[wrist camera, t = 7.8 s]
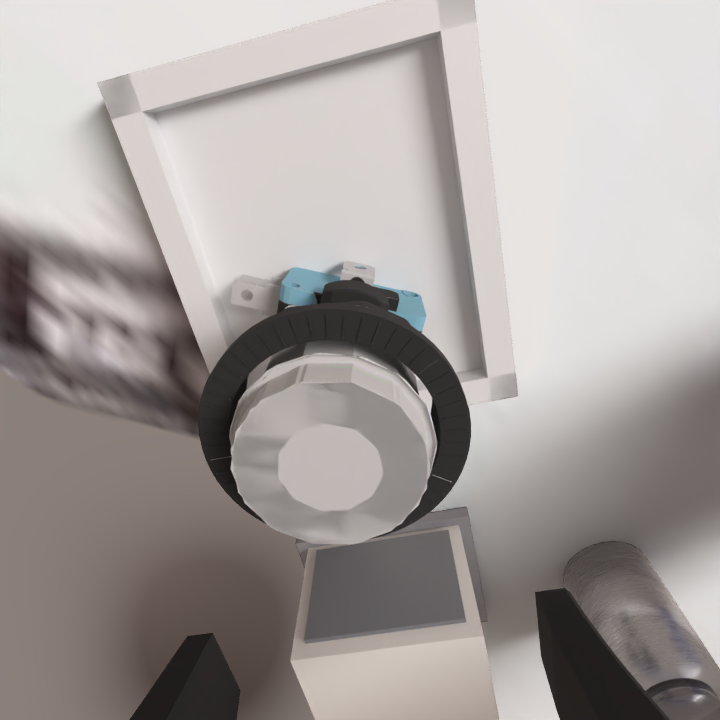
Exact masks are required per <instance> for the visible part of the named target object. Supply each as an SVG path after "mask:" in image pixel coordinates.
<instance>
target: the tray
mask: <svg viewBox="0 0 720 720" xmlns="http://www.w3.org/2000/svg"><path fill="white" fill-rule="evenodd" d="M97 84H98V87H99V89H100V92H101V94H102V97H103V100H104V102H105V105H106V107H107V110H108V112H109V115H110V118H111V120H112V123H113V125H114V128H115V131H116V133H117V136H118V138H119V141H120V143H121V146H122V149H123V151H124V154H125V156H126V159H127V162H128V164H129V167H130V169H131V172H132V174H133V177H134V180H135V182H136V185H137V187H138V190H139V193H140V195H141V198H142V200H143V203H144V205H145V208H146V211H147V213H148V216H149V218H150V221H151V224H152V226H153V229H154V231H155V234H156V236H157V239H158V242H159V244H160V247H161V249H162V252H163V255H164V257H165V260H166V262H167V265H168V267H169V270H170V273H171V275H172V278H173V280H174V283H175V286H176V288H177V291H178V293H179V296H180V298H181V301H182V304H183V306H184V309H185V311H186V314H187V317H188V319H189V322H190V324H191V327H192V329H193V332H194V335H195V337H196V340H197V342H198V345H199V348H200V350H201V353H202V355H203V358H204V360H205V363H206V366H207V368H208V371H209V373H210V374H211V372H212V370H213V369H214V367H215V365H216V364H217V362H218V361H219V359H220V358H221V357H222V355H223V354H224V353H225V352H226V350H227V349H228V348H229V346H230V345H231V344H232V343H233V342H234V341H235V340H236V339H237V338H238V337H239V336H240V335H242V334H243V333H244V332H246V331H247V330H248V329H249V328H251V327H252V326H254V325H255V324H257V323H259V322H260V321H262V320H264V319H266V318H268V317H270V316H267V315H262V311H263V310H259V309H254V308H249V307H245V306H240V305H236V304H233V303H232V302H231V296H232V287H233V283H234V282H236V281H238V282H239V279H240V276H241V275H243V274H244V275H249V276H253V277H258V278H262V279H267V280H271V279H272V277H277V278H281V279H285V277H286V276H287V274H288V273H289V271H290V270H291V268H293V267H298V268H303V269H308V270H312V271H317V272H321V273H326V274H330V275H335V276H339V277H341V273H342V269H343V264H344V261H351V262H356V263H360V264H365V265H369V266H372V267H374V268H375V280H374V284H375V285H379V286H384V287H388V288H393V289H397V290H406V291H410V292H414V293H417V294H419V295H420V296H421V297H422V302H423V305H424V309H425V312H426V315H427V316H426V319H425V323H424V326H423V330H422V334H424V335H425V336H426V337H427V338H428V339H429V340H430V341H431V342H433V343H434V344H435V345H436V346H437V348H438V349H439V350H440V351H441V352H442V353H443V354H444V356H445V357H446V358H447V360H448V361H449V363H450V364H451V365H452V367H453V369H454V371H455V373H456V375H457V376H458V379H459V381H460V384H461V386H462V389H463V391H464V394H465V397H466V400H467V404H468V405H473V404H479V403H484V402H490V401H495V400H501V399H506V398H512V397H517V396H518V390H517V381H516V372H515V363H514V354H513V345H512V336H511V327H510V318H509V309H508V300H507V291H506V282H505V273H504V264H503V255H502V246H501V237H500V228H499V219H498V210H497V201H496V192H495V183H494V174H493V165H492V156H491V147H490V138H489V129H488V120H487V111H486V102H485V93H484V84H483V75H482V66H481V57H480V48H479V39H478V30H477V21H476V12H475V3H474V0H391V1H387V2H383V3H380V4H376V5H373V6H369V7H366V8H362V9H358V10H355V11H351V12H348V13H344V14H341V15H337V16H333V17H330V18H326V19H323V20H319V21H316V22H312V23H309V24H305V25H301V26H298V27H294V28H291V29H287V30H284V31H280V32H276V33H273V34H269V35H266V36H262V37H259V38H255V39H251V40H248V41H244V42H241V43H237V44H234V45H230V46H227V47H223V48H219V49H216V50H212V51H209V52H205V53H202V54H198V55H194V56H191V57H187V58H184V59H180V60H177V61H173V62H169V63H166V64H162V65H159V66H155V67H152V68H148V69H145V70H141V71H137V72H134V73H130V74H127V75H123V76H120V77H116V78H112V79H109V80H105V81H102V82H98V83H97ZM355 268H358V269H363V268H359V267H355ZM249 284H252V285H257V284H256V283H254V282H251V283H249ZM257 286H258V285H257ZM250 292H251V291H250ZM251 293H252V292H251ZM242 298H243V299H244V300H246V301H250V300H252V299H250V298H246V297H242ZM271 357H272V356H270V357H269V358H267V359H266V360H264V361H263V362H262V363H260V364H259V365H258V366H257V367H256V368H255V369H254V370H253V371H252V372H250V374H249V376H248V381H247V389H248V388H249V387H250V386H251V385H253V384H254V383H255V382H256V381H257V380H258V379H259V378H260V377H261V376H262V375H263V374H264V372H265V370H266V368H267V366H268V363H269V361H270V359H271ZM414 375H415V374H414ZM415 376H416V375H415ZM416 382H417V387H418V393H419V396H420V398H421V399H422V400H423V401H424V402H425V404H426V405H427V407H428V409H429V411H430V412H431V407H432V397H431V395H430V393H429V392H428V390H427V388H426V387H425V385H424V384H423V383H422V382H421V380H420V379H419V378H418V377H417V376H416Z"/></svg>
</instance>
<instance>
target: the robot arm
mask: <svg viewBox="0 0 720 720" xmlns="http://www.w3.org/2000/svg"><path fill="white" fill-rule="evenodd" d="M535 596H536V606H537V617H538V628H539V638H540V649H541V657H542V661H543V664H544V668H545V671H546V675H547V678H548V682H549V685H550V689H551V692H552V695H553V699H554V702H555V706H556V709H557V712H558V715H559V718H560V720H670V719H669V718H668V717H667V716H666V714H665V713H664V712H663V711H662V710H661V709H660V708H659V706H658V705H657V704H656V703H655V702H654V701H653V699H652V698H651V697H650V696H649V695H648V693H647V692H646V691H645V690H644V689H643V687H642V686H641V685H640V684H639V683H638V682H637V680H636V679H635V678H634V677H633V676H632V674H631V673H630V672H629V671H628V670H627V668H626V667H625V666H624V665H623V663H622V662H621V661H620V660H619V658H618V657H617V656H616V655H615V653H614V652H613V651H612V649H611V648H610V647H609V646H608V644H607V643H606V642H605V640H604V639H603V638H602V636H601V635H600V634H599V632H598V631H597V630H596V628H595V627H594V626H593V624H592V623H591V622H590V620H589V619H588V617H587V616H586V615H585V613H584V612H583V610H582V609H581V607H580V606H579V604H578V603H577V601H576V600H575V598H574V597H573V595H572V594H571V592H570V591H568V590H567V589H565V588H563V589H555V590H547V591H540V592H535ZM239 695H240V689H239V687H238V685H237V683H236V681H235V679H234V676H233V674H232V672H231V670H230V668H229V666H228V664H227V662H226V660H225V658H224V656H223V654H222V651H221V649H220V647H219V645H218V643H217V641H216V639H215V637H214V635H213V633H209V634H201V635H193V636H188V637H187V638H186V639H185V640H184V642H183V643H182V645H181V646H180V648H179V649H178V650H177V652H176V653H175V655H174V656H173V658H172V659H171V661H170V662H169V663H168V665H167V666H166V668H165V669H164V671H163V672H162V674H161V675H160V677H159V678H158V680H157V681H156V682H155V684H154V685H153V687H152V688H151V690H150V691H149V693H148V694H147V696H146V697H145V698H144V700H143V701H142V703H141V704H140V706H139V707H138V709H137V710H136V711H135V713H134V714H133V716H132V717H131V718H130V720H236V719H237V711H238V703H239Z"/></svg>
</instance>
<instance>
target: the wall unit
mask: <svg viewBox="0 0 720 720" xmlns="http://www.w3.org/2000/svg"><path fill="white" fill-rule="evenodd" d="M296 546H297V548H298V551H299V554H300V557H301V560H302V562H303V565H304V568H305V572H304V578H303V584H302V591H301V597H300V603H299V610H298V616H297V622H296V628H295V634H294V641H293V647H292V654H291V660H290V662H291V664H292V666H293V668H294V671H295V673H296V676H297V678H298V680H299V683H300V685H301V687H302V690H303V692H304V694H305V697H306V699H307V702H308V704H309V706H310V709H311V711H312V713H313V716H314V718H315V720H499V716H498V710H497V705H496V699H495V694H494V689H493V683H492V678H491V672H490V667H489V661H488V656H487V650H486V645H485V639H484V634H483V630H482V625H481V622H487V616H486V611H485V605H484V599H483V594H482V588H481V582H480V577H479V571H478V565H477V559H476V554H475V548H474V542H473V537H472V531H471V525H470V520H469V515H468V511H467V507H463V508H457V509H451V510H445V511H438V512H432V513H428V514H426V515H425V516H424V517H422V518H421V519H419V520H417V521H416V522H414V523H413V524H411V525H409V526H407V527H405V528H403V529H401V530H398V531H396V532H393V533H390V534H387V535H384V536H381V537H377V538H372V539H368V540H366V541H364V542H362V543H356V544H311V543H309V542H306V541H303V540H301V539H298V538H297V539H296Z"/></svg>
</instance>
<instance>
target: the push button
mask: <svg viewBox="0 0 720 720" xmlns="http://www.w3.org/2000/svg"><path fill="white" fill-rule="evenodd" d="M355 267H359V268H363V269H358V268H355ZM374 280H375V268H374V267H372V266H369V265H365V264H360V263H356V262H351V261H344V264H343V269H342V273H341V277H339V276H335V275H330V274H326V273H321V272H317V271H312V270H308V269H303V268H298V267H293V268H291V270H290V271H289V273H288V274H287V276H286V277H285V279H281V278H277V277H272V279H271V280H267V279H262V278H258V277H253V276H249V275H244V274H243V275H241V276H240V279H239V282H238V281H236V282H234V283H233V287H232V296H231V302H232V303H233V304H236V305H240V306H245V307H249V308H254V309H259V310H263V311H262V315H267V316H270V317H268V318H266V319H264V320H262V321H260V322H259V323H257V324H255V325H254V326H252V327H251V328H249V329H248V330H247V331H246V332H244V333H243V334H242V335H240V336H239V337H238V338H237V339H236V340H235V341H234V342H233V343H232V344H231V345H230V346H229V348H228V349H227V350H226V352H225V353H224V354H223V355H222V357H221V358H220V359H219V361H218V362H217V364H216V365H215V367H214V369H213V370H212V372H211V374H210V376H209V378H208V380H207V382H206V385H205V387H204V390H203V394H202V397H201V402H200V408H199V422H198V424H199V436H200V440H201V445H202V449H203V452H204V455H205V458H206V461H207V463H208V465H209V467H210V469H211V471H212V473H213V475H214V476H215V478H216V480H217V481H218V482H219V484H220V485H221V486H222V488H223V489H224V490H225V492H226V493H227V494H228V495H229V496H230V497H231V498H232V499H233V500H234V501H235V502H236V503H237V504H239V506H240V507H242V508H243V509H244V510H245V511H247V512H248V513H250V514H251V515H252V516H254V517H255V518H257V519H259V520H260V521H262V522H263V523H265V524H267V525H268V526H270V527H272V528H273V529H274V530H277V531H279V532H282V533H285V534H288V535H290V536H293V537H295V538H298V539H301V540H303V541H306V542H309V543H311V544H356V543H362V542H364V541H366V540H368V539H372V538H377V537H381V536H384V535H387V534H390V533H393V532H396V531H398V530H401V529H403V528H405V527H407V526H409V525H411V524H413V523H414V522H416V521H417V520H419V519H421V518H422V517H424V516H425V515H426V514H428V513H429V512H430V511H431V510H433V509H434V508H435V507H436V506H437V505H438V504H439V503H440V502H441V501H442V500H443V499H444V498H445V497H446V495H447V494H448V493H449V492H450V490H451V489H452V487H453V486H454V485H455V483H456V482H457V480H458V478H459V476H460V474H461V472H462V470H463V467H464V465H465V462H466V459H467V455H468V451H469V447H470V438H471V421H470V413H469V408H468V404H467V400H466V397H465V394H464V391H463V389H462V386H461V384H460V381H459V379H458V376H457V375H456V373H455V371H454V369H453V367H452V365H451V364H450V363H449V361H448V360H447V358H446V357H445V356H444V354H443V353H442V352H441V351H440V350H439V349H438V348H437V346H436V345H435V344H434V343H433V342H431V341H430V340H429V339H428V338H427V337H426V336H425V335H424V334H422V330H423V326H424V323H425V319H426V316H427V315H426V312H425V309H424V305H423V302H422V297H421V296H420V295H419V294H417V293H414V292H410V291H406V290H397V289H393V288H388V287H384V286H379V285H375V284H374ZM251 282H254V283H256V284H257V285H258V286H257V285H252V284H249V283H251ZM250 291H251V292H252V293H251V292H250ZM242 297H246V298H250V299H252V300H250V301H246V300H244V299H243V298H242ZM270 356H272V357H271V359H270V361H269V363H268V366H267V368H266V370H265V372H264V374H263V375H262V376H261V377H260V378H259V379H258V380H257V381H256V382H255V383H254V384H253V385H251V386H250V387H249V388H248V389H247V381H248V376H249V374H250V372H252V371H253V370H254V369H255V368H256V367H257V366H258V365H259V364H260V363H262V362H263V361H264V360H266V359H267V358H269V357H270ZM414 374H415V375H416V376H417V377H418V378H419V379H420V380H421V382H422V383H423V384H424V385H425V387H426V388H427V390H428V392H429V393H430V395H431V397H432V407H431V413H430V411H429V409H428V407H427V405H426V404H425V402H424V401H423V400H422V399H421V398H420V396H419V393H418V387H417V382H416V376H415V375H414Z"/></svg>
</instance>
